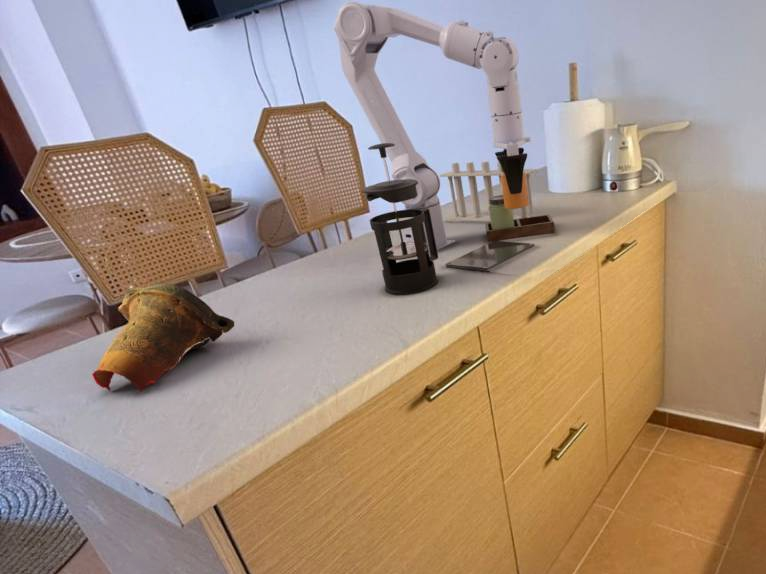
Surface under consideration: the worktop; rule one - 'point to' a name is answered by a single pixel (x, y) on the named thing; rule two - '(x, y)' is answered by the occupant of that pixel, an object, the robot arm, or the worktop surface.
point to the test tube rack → (474, 192)
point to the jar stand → (522, 228)
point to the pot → (158, 333)
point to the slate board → (488, 256)
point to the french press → (409, 272)
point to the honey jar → (514, 199)
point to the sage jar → (500, 214)
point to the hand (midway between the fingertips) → (514, 190)
